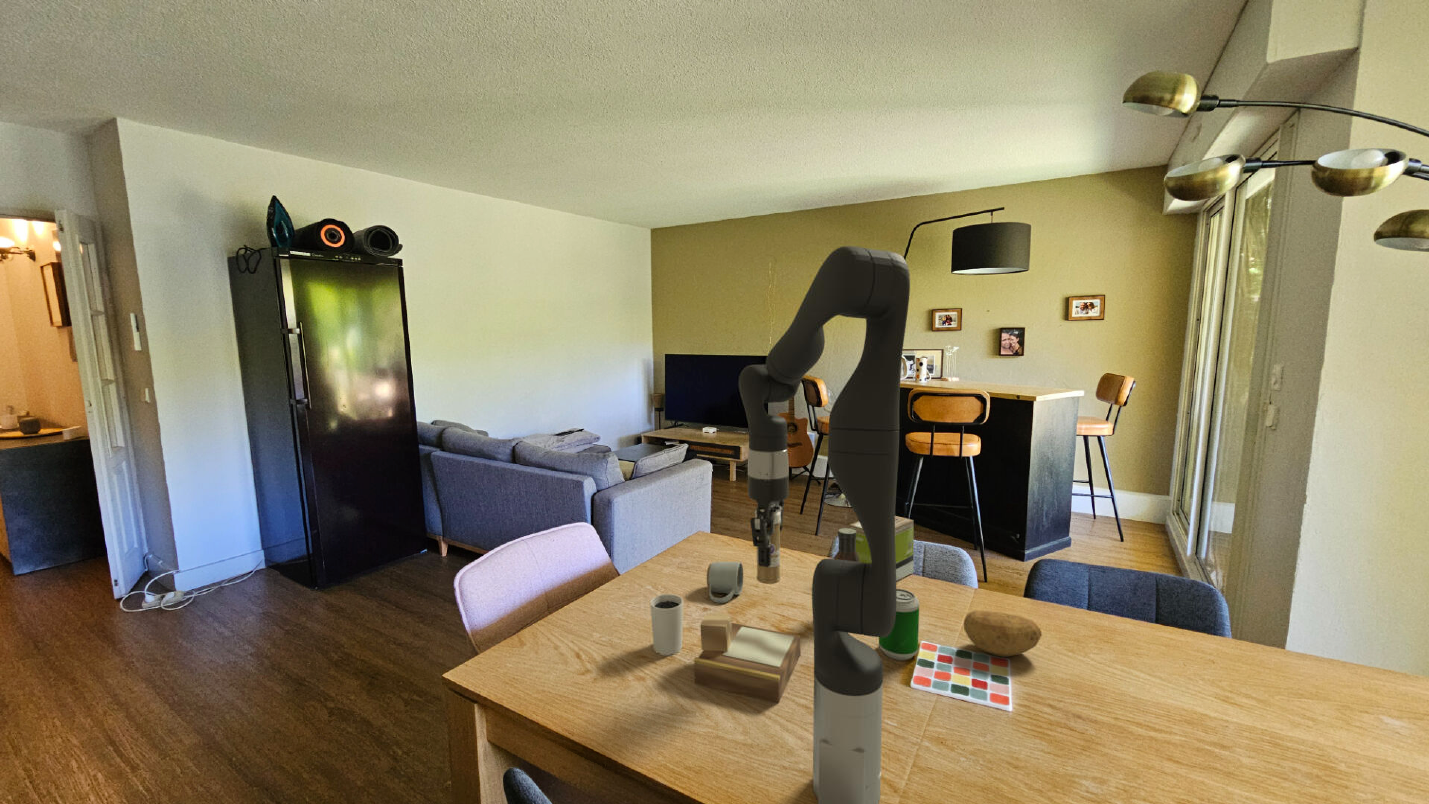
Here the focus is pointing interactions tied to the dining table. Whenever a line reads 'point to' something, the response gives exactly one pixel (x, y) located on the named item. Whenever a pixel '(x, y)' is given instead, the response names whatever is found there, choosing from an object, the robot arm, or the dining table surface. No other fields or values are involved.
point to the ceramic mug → (725, 579)
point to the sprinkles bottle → (773, 571)
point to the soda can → (903, 628)
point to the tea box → (902, 545)
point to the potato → (1001, 632)
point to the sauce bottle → (847, 545)
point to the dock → (751, 663)
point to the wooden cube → (716, 632)
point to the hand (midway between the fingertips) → (768, 560)
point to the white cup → (667, 623)
